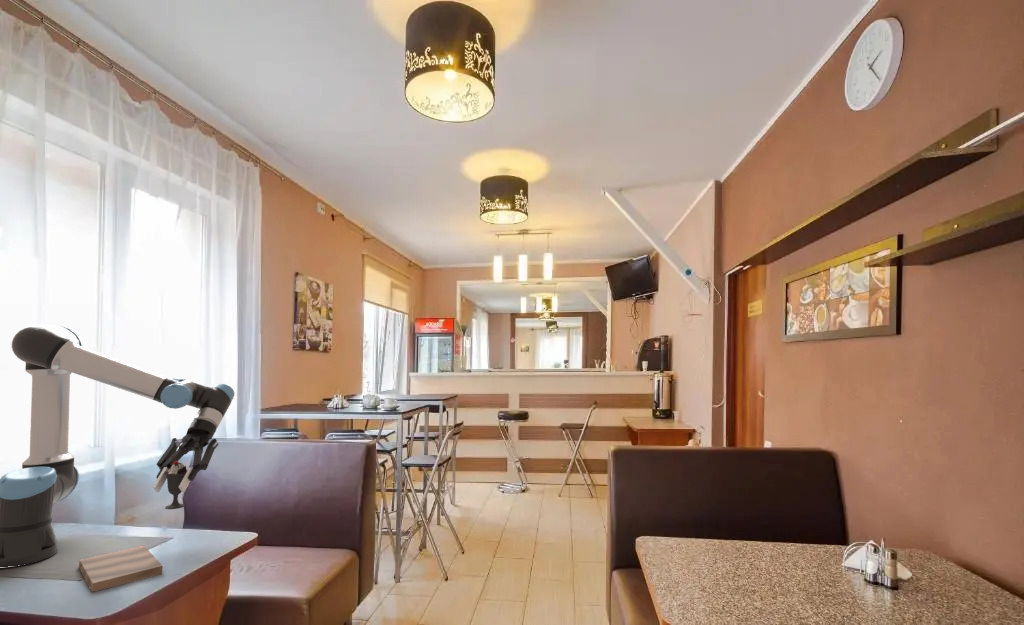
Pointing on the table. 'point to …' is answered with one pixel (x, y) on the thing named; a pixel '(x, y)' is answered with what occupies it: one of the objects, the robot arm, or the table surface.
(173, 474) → the sundae
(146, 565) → the brown flat wooden slab
